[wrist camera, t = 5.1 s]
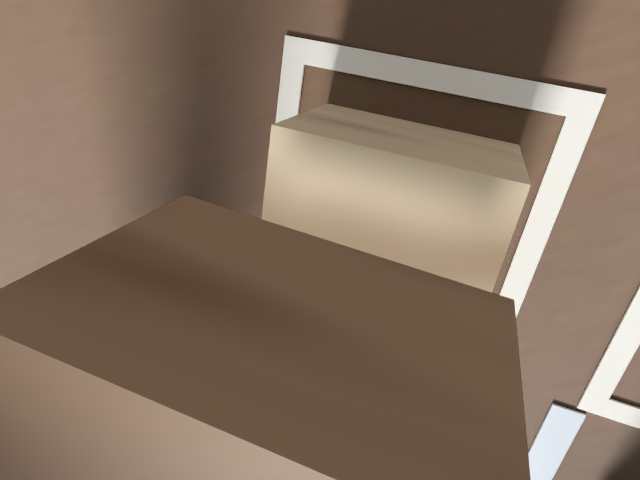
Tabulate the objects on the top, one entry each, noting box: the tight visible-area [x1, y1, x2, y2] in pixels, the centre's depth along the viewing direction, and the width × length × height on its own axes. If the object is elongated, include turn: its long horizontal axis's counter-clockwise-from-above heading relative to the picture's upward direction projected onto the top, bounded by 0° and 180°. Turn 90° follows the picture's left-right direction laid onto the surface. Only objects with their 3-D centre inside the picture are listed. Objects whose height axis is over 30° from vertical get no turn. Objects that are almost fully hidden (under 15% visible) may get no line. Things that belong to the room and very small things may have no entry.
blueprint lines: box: [275, 35, 640, 480], centre depth 17 cm, size 17×23×1 cm
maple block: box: [261, 103, 531, 292], centre depth 15 cm, size 6×6×5 cm
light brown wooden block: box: [0, 195, 531, 480], centre depth 7 cm, size 6×6×4 cm
